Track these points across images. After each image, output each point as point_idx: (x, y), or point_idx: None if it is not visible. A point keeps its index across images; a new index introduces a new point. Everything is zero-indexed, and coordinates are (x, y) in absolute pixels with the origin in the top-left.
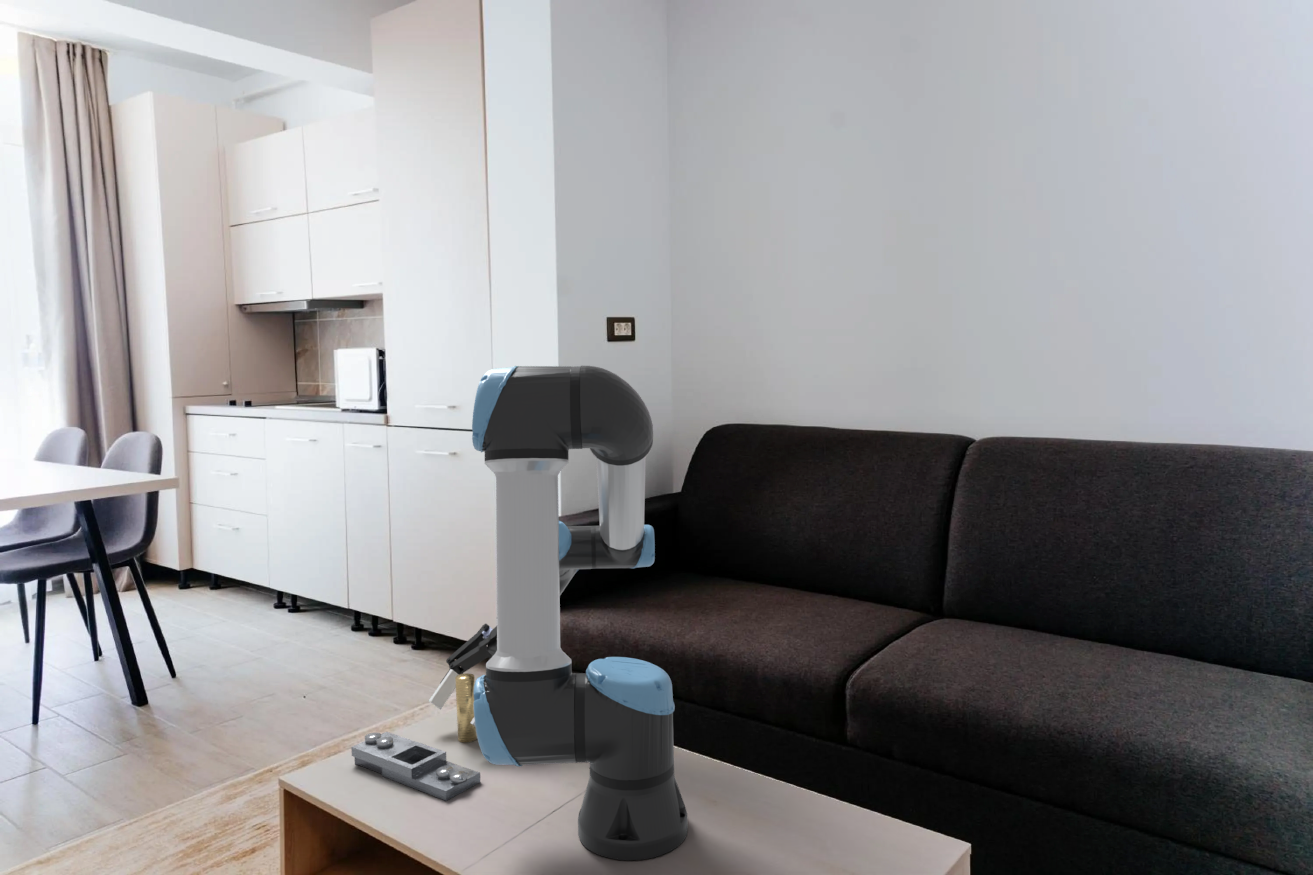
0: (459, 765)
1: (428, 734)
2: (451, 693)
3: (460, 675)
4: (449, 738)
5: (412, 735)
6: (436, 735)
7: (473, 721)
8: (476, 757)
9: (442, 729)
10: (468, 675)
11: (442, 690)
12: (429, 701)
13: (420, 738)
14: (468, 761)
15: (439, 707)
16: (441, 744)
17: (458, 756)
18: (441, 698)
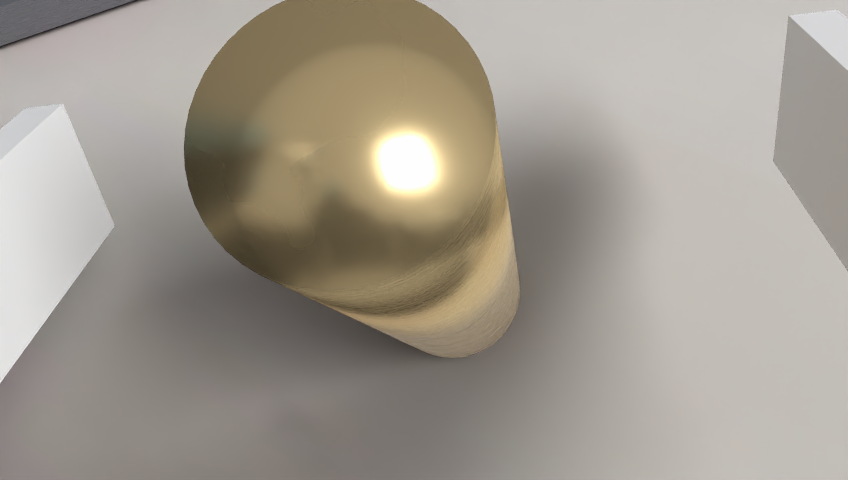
0: (4, 5)
1: (729, 116)
2: (840, 258)
3: (444, 102)
4: (560, 202)
5: (787, 22)
6: (673, 153)
7: (24, 115)
8: (174, 211)
9: (752, 231)
10: (346, 204)
11: (845, 122)
12: (820, 17)
13: (697, 47)
14: (162, 149)
15: (779, 142)
16: (504, 120)
17: None
18: (807, 136)
